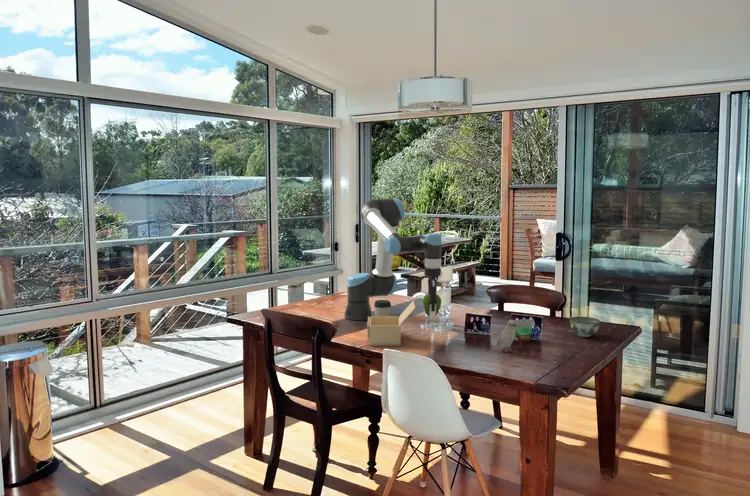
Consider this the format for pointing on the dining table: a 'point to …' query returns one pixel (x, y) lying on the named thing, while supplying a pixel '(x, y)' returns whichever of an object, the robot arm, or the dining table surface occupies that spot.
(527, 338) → the food container
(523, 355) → the dining table surface
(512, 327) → the bird
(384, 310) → the coffee cup
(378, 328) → the carton
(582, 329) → the bowl
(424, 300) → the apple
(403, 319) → the flap
